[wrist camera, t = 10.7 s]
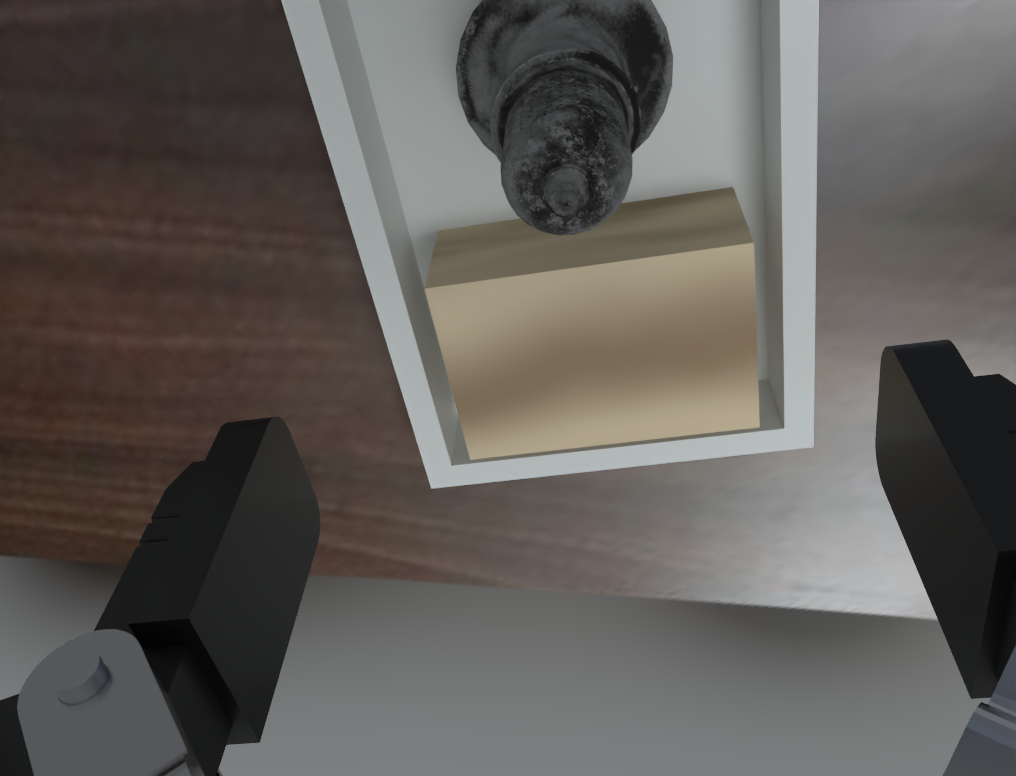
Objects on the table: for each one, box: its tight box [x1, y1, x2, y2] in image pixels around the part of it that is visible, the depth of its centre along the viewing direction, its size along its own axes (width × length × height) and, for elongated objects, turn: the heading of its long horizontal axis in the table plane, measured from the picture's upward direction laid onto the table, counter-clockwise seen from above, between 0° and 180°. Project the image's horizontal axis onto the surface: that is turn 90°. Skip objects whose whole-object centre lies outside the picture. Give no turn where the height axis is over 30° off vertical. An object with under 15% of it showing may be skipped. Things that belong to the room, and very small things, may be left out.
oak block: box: [424, 187, 760, 460], centre depth 32 cm, size 7×10×4 cm
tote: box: [281, 0, 819, 489], centre depth 30 cm, size 20×14×4 cm
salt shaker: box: [456, 0, 673, 235], centre depth 23 cm, size 6×6×12 cm
